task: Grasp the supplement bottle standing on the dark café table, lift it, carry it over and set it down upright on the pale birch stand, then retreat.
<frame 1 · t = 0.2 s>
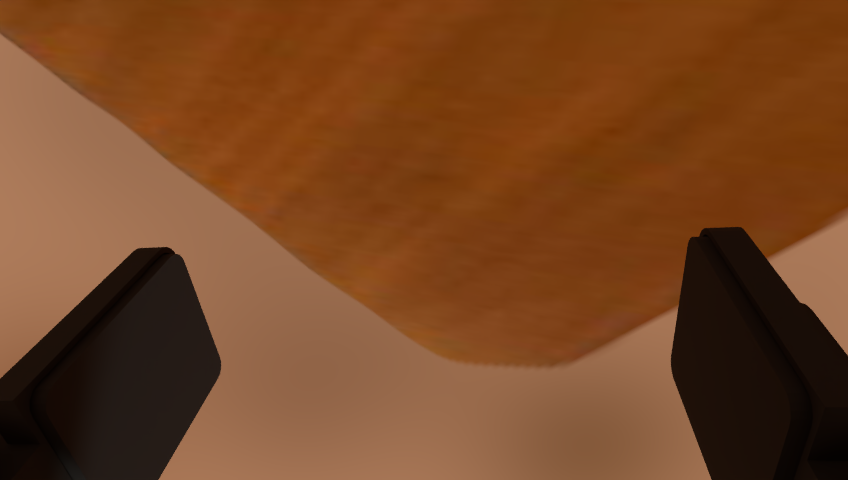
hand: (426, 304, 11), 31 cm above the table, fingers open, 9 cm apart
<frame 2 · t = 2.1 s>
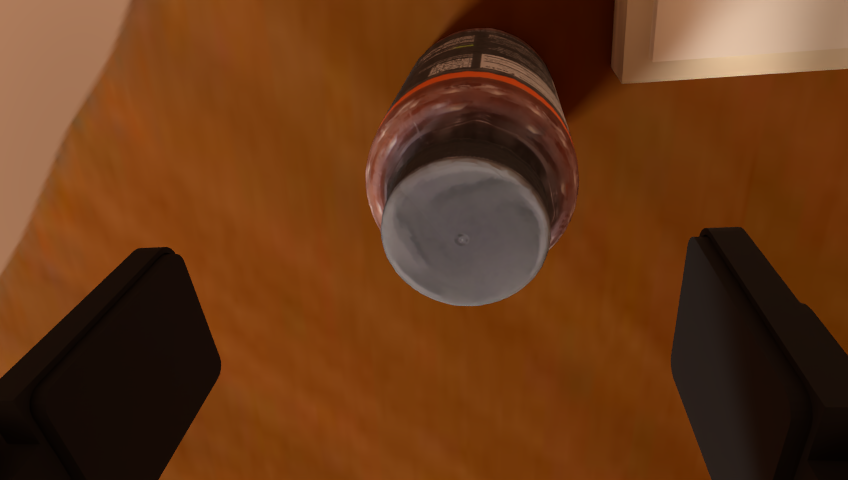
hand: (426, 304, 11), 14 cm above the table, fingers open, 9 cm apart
supplement bottle: (480, 100, 23), on the table
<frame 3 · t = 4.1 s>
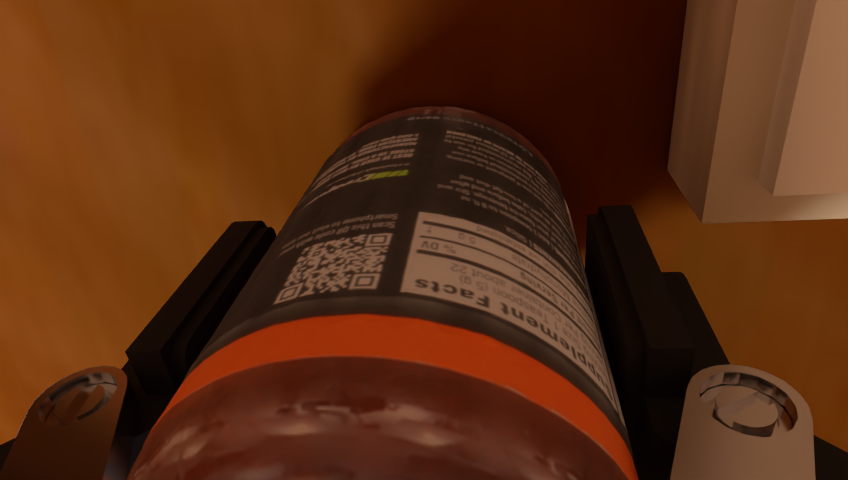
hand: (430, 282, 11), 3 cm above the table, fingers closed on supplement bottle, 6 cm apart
supplement bottle: (441, 215, 14), on the table, touching gripper
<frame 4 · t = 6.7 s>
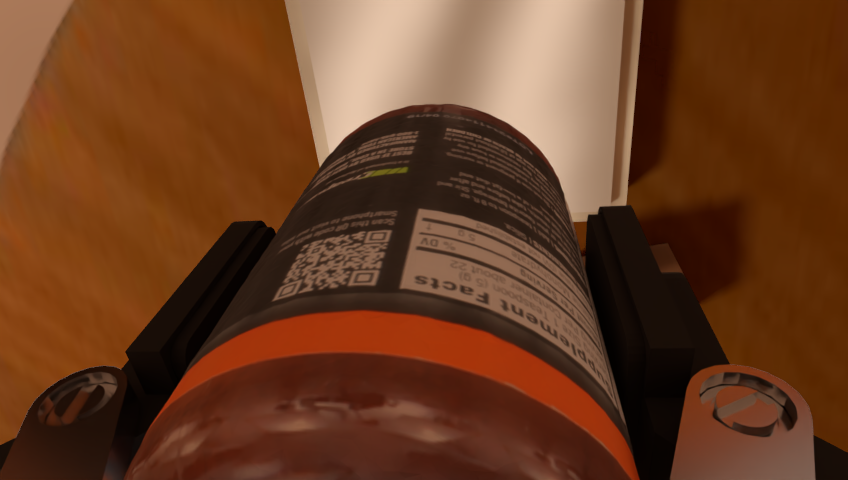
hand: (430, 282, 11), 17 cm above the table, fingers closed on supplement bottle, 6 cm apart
stand: (466, 65, 26), on the table
supplement bottle: (441, 213, 14), point 14 cm above the table, touching gripper
beige block: (621, 287, 31), on the table
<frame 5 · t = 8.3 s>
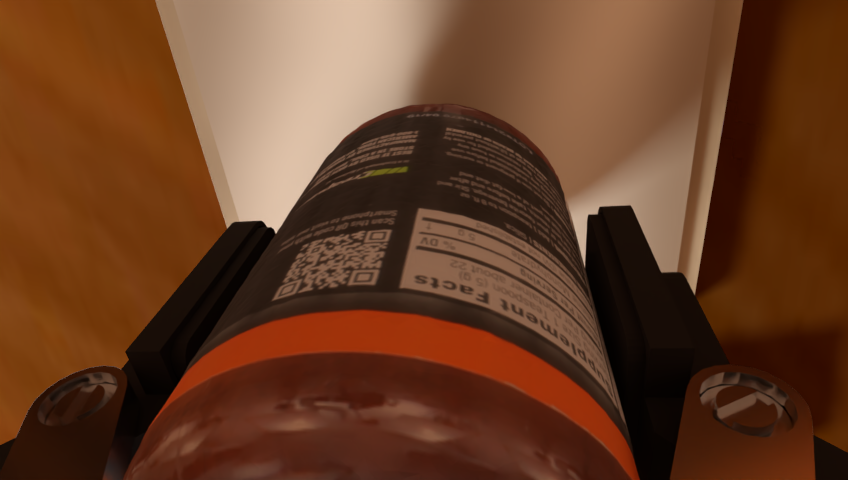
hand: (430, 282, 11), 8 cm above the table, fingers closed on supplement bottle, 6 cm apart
stand: (454, 142, 18), on the table
supplement bottle: (441, 213, 14), point 5 cm above the table, touching gripper
when the fingers open (7 cm above the table, at t = 9.4 s): supplement bottle drops 1 cm, resting on stand.
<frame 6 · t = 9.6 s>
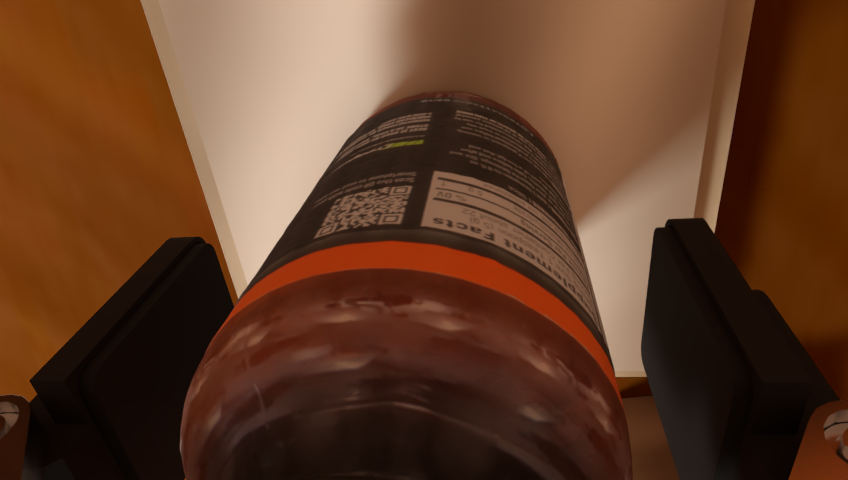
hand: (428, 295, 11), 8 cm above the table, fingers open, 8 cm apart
stand: (453, 150, 17), on the table
supplement bottle: (449, 194, 15), point 3 cm above the table, touching stand
beige block: (670, 436, 23), on the table
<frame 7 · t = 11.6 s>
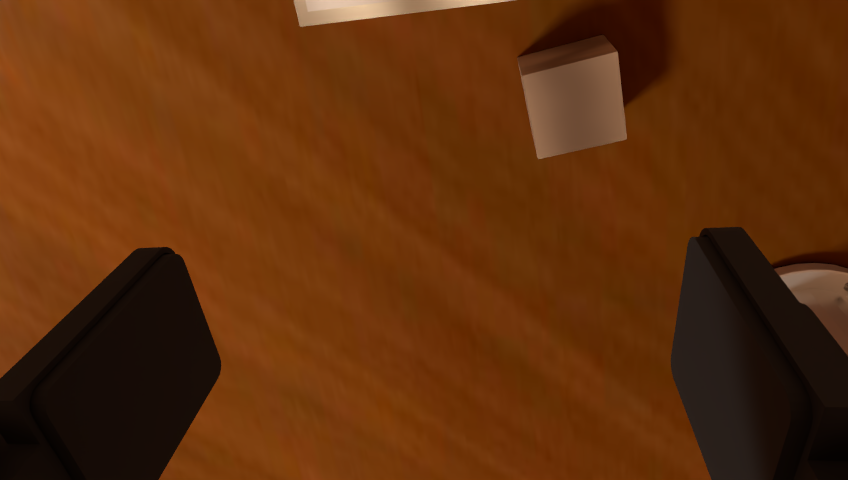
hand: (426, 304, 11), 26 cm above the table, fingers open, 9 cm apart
beige block: (565, 86, 34), on the table
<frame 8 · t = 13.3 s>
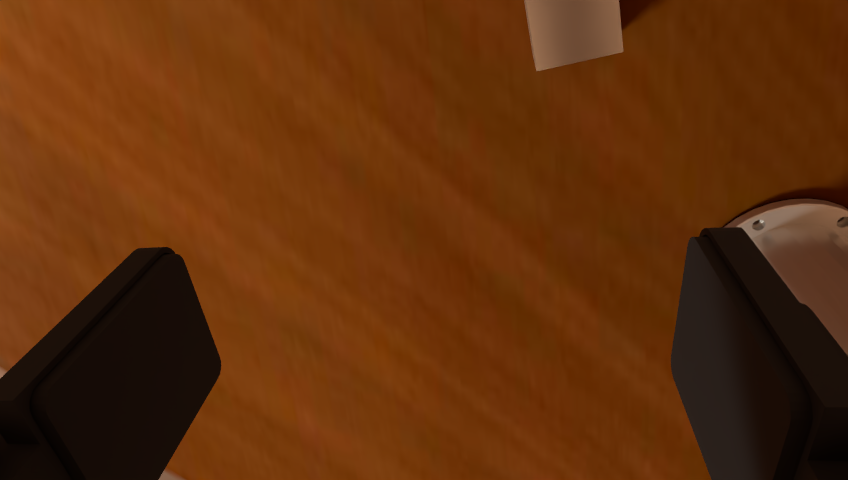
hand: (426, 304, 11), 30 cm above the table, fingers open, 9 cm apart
beige block: (566, 7, 36), on the table
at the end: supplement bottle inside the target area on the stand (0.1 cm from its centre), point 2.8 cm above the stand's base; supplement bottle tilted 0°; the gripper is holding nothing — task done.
